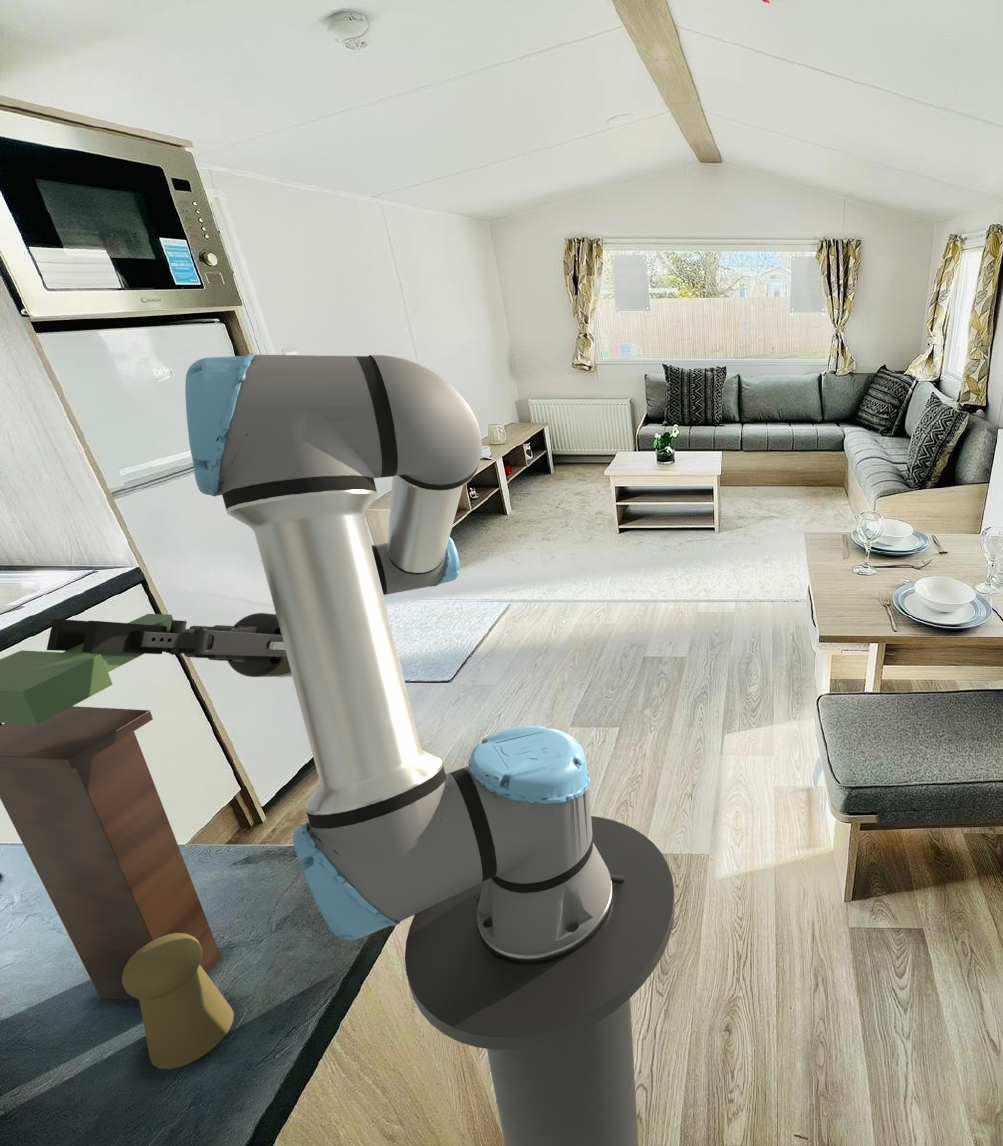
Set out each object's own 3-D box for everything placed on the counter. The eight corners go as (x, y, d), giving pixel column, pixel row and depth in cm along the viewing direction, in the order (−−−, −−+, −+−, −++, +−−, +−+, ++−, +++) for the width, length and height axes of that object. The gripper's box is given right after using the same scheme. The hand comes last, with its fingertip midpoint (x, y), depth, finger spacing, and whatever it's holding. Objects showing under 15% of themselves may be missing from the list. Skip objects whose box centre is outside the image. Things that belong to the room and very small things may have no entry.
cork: (188, 1075, 57) (149, 990, 53) (131, 1061, 58) (89, 976, 54) (250, 1009, 62) (219, 927, 58) (197, 997, 63) (163, 915, 59)
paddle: (201, 637, 64) (193, 610, 63) (37, 725, 50) (22, 691, 49) (133, 634, 64) (123, 606, 63) (-50, 720, 50) (-67, 687, 49)
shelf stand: (238, 948, 68) (150, 709, 57) (180, 1014, 62) (68, 759, 51) (146, 942, 68) (41, 704, 57) (79, 1008, 62) (-55, 752, 51)
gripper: (222, 612, 79) (-6, 588, 56) (346, 618, 79) (167, 596, 56) (212, 673, 78) (-26, 675, 55) (337, 679, 78) (151, 683, 54)
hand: (72, 635), depth 55 cm, fingers closed on paddle, 2 cm apart
